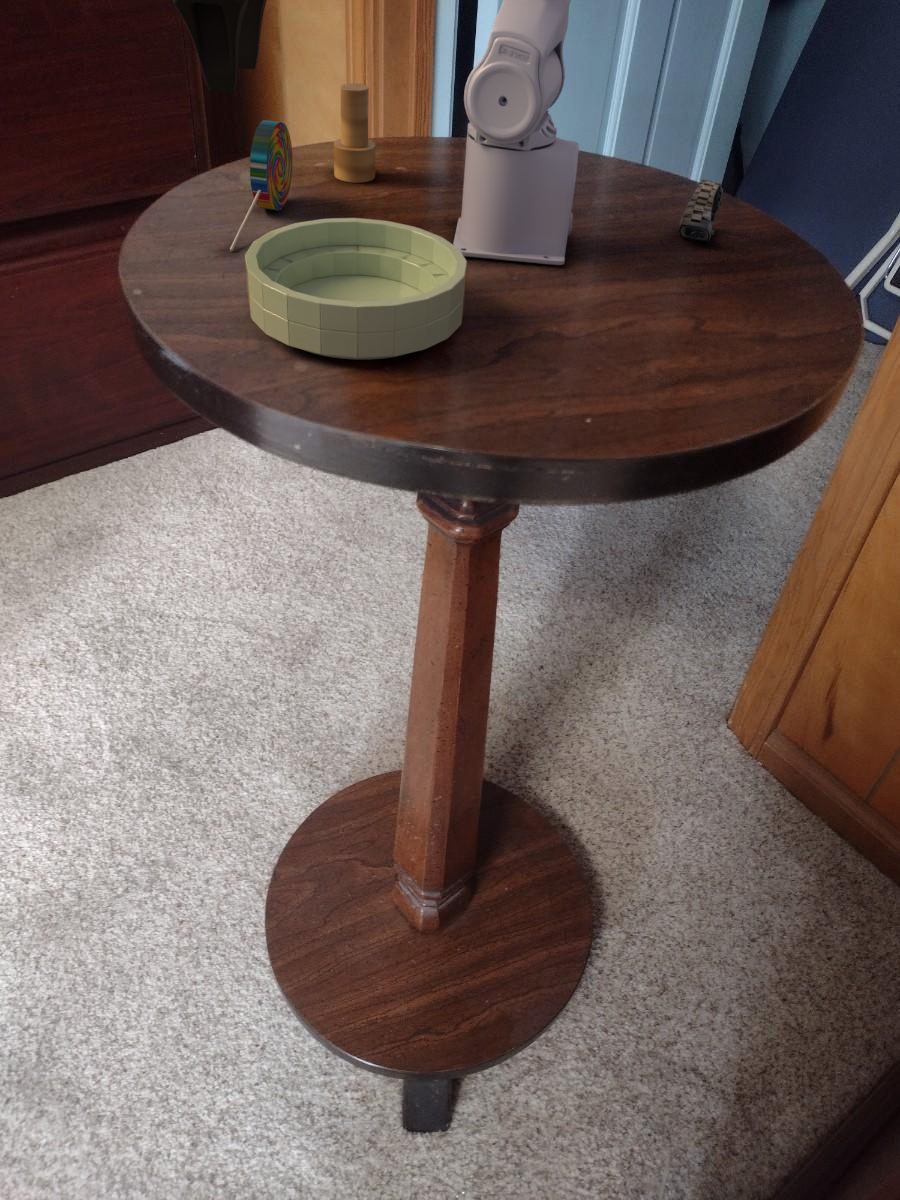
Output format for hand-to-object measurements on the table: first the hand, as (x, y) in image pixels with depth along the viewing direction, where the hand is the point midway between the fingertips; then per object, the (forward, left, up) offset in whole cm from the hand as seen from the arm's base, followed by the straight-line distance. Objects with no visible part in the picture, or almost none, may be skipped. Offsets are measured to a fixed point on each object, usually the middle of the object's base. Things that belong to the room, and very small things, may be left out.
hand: (232, 78), depth 81 cm
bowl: (-14, +21, -10) cm, 27 cm away
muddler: (-9, -10, -10) cm, 16 cm away
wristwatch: (-42, -2, -10) cm, 43 cm away
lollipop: (-3, +4, -10) cm, 11 cm away
